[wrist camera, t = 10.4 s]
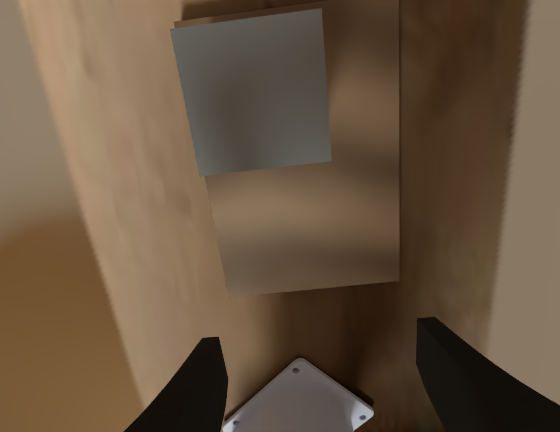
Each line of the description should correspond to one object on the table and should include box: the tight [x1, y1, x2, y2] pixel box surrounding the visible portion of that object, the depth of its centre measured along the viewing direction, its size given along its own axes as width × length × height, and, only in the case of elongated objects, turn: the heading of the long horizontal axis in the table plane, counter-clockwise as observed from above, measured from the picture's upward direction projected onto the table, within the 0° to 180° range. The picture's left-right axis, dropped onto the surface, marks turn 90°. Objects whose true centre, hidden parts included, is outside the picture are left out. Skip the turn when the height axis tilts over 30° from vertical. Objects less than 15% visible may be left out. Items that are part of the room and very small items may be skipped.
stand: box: [174, 0, 400, 298], centre depth 18 cm, size 16×11×5 cm
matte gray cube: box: [170, 8, 332, 176], centre depth 15 cm, size 5×5×6 cm
